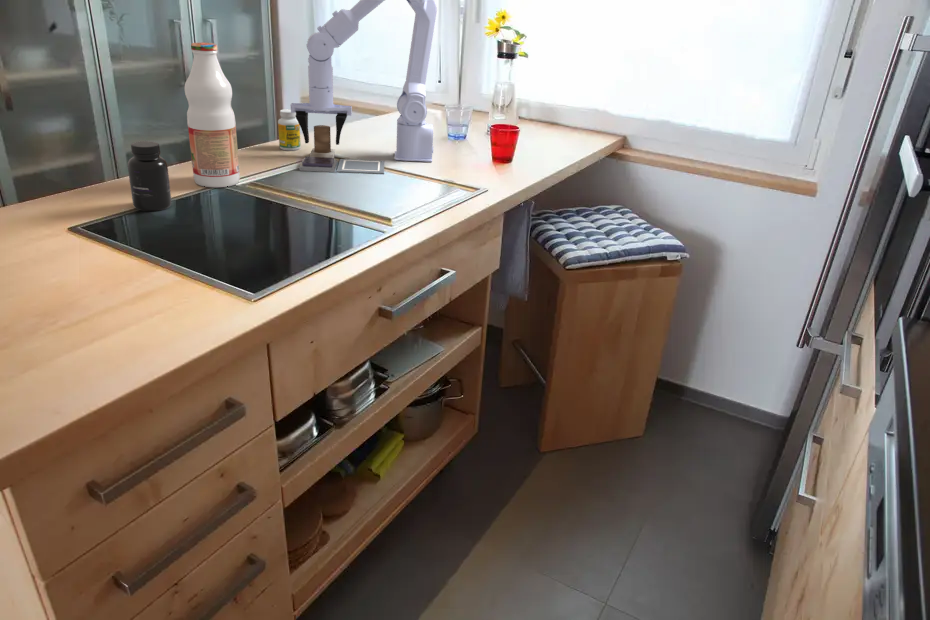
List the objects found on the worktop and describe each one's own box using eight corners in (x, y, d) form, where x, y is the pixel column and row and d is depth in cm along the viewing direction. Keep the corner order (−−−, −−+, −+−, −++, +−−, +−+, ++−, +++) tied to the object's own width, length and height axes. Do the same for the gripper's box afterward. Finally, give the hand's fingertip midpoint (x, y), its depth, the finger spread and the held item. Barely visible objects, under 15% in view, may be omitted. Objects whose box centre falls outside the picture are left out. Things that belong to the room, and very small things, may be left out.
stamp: (334, 154, 175) (334, 125, 171) (332, 160, 170) (332, 129, 166) (312, 153, 174) (311, 124, 171) (310, 159, 169) (309, 128, 166)
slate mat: (384, 162, 171) (384, 160, 171) (383, 174, 161) (383, 172, 161) (340, 160, 170) (340, 158, 170) (336, 172, 160) (336, 170, 160)
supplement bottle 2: (293, 145, 180) (292, 107, 176) (304, 149, 177) (303, 111, 173) (275, 147, 177) (273, 109, 173) (286, 151, 174) (284, 113, 169)
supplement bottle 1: (135, 213, 127) (125, 149, 122) (132, 202, 132) (122, 140, 127) (174, 210, 130) (166, 147, 125) (170, 199, 135) (162, 138, 130)
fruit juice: (215, 191, 142) (200, 47, 129) (184, 182, 146) (167, 42, 133) (249, 181, 149) (239, 45, 136) (219, 173, 153) (207, 40, 141)
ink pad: (336, 164, 166) (336, 157, 166) (334, 172, 160) (334, 164, 159) (303, 162, 166) (303, 155, 165) (299, 170, 159) (299, 163, 159)
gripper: (352, 85, 168) (352, 140, 175) (292, 82, 167) (294, 138, 173) (350, 90, 162) (351, 147, 168) (288, 86, 161) (291, 144, 167)
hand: (322, 143), depth 170 cm, fingers open, 7 cm apart
